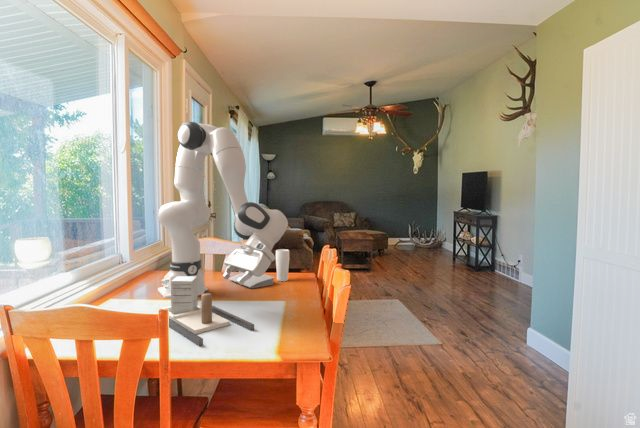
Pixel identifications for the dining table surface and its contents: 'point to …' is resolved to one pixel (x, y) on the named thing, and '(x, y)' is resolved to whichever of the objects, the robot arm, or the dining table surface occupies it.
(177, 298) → the supplement box
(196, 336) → the dark grey parallel rails
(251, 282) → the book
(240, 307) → the dining table surface
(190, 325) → the board with brown peg
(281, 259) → the white piece
